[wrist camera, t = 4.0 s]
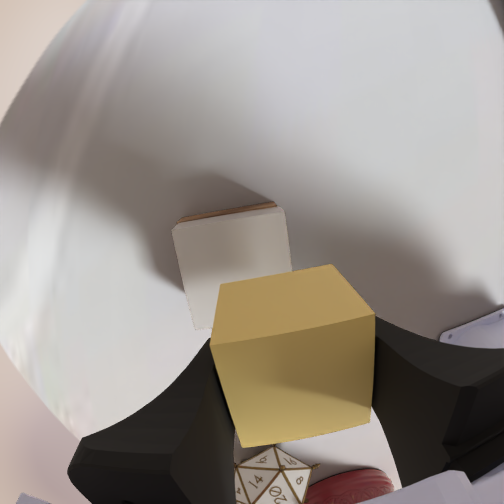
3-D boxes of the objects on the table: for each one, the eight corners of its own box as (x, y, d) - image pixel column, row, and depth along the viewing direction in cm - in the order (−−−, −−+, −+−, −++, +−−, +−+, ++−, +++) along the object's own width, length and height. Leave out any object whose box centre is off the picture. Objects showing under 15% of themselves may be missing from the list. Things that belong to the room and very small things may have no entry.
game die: (248, 427, 30) (192, 463, 21) (325, 425, 26) (289, 473, 17) (260, 491, 27) (213, 536, 19) (332, 494, 24) (301, 551, 15)
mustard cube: (331, 263, 12) (374, 313, 8) (338, 355, 13) (369, 422, 9) (219, 284, 12) (209, 345, 8) (241, 373, 13) (242, 447, 9)
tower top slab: (279, 206, 18) (284, 211, 16) (291, 299, 20) (297, 314, 18) (178, 222, 18) (170, 230, 16) (199, 313, 20) (194, 330, 18)
